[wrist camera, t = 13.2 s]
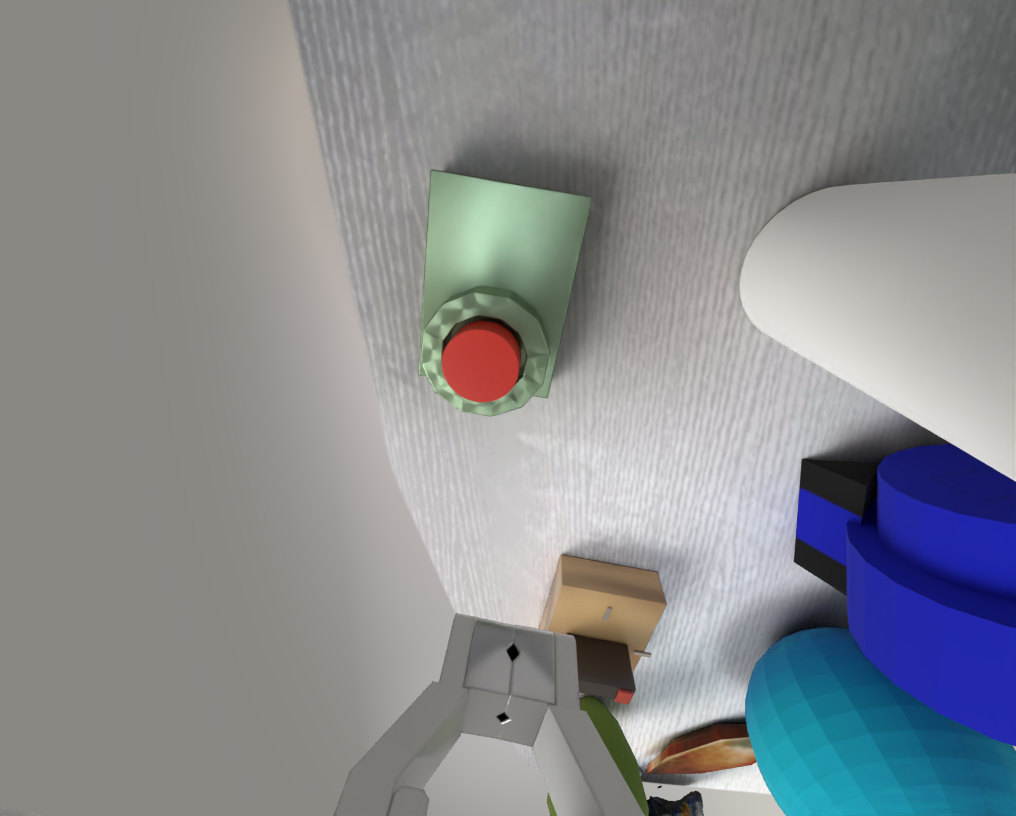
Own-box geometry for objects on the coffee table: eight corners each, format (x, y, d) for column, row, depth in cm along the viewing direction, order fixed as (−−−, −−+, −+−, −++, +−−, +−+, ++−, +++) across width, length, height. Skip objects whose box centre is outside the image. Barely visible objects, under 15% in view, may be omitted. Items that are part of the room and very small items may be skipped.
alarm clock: (793, 567, 32) (972, 832, 18) (803, 432, 27) (1062, 662, 13) (978, 551, 29) (1337, 838, 16) (1028, 399, 24) (1613, 635, 11)
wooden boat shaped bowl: (649, 762, 46) (653, 782, 44) (628, 737, 44) (631, 757, 42) (782, 737, 42) (792, 758, 40) (765, 708, 40) (774, 729, 38)
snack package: (633, 847, 38) (730, 858, 41) (623, 757, 43) (711, 772, 46) (568, 842, 46) (654, 852, 49) (566, 767, 51) (644, 779, 53)
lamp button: (452, 314, 22) (444, 322, 20) (526, 327, 21) (525, 336, 20) (446, 383, 23) (438, 395, 22) (514, 395, 23) (512, 408, 22)
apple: (531, 695, 42) (525, 852, 32) (600, 669, 39) (618, 833, 29) (579, 735, 45) (588, 893, 34) (647, 714, 42) (679, 880, 32)
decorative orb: (946, 598, 32) (1238, 885, 18) (856, 706, 38) (1021, 974, 25) (750, 572, 32) (892, 832, 19) (695, 683, 39) (771, 933, 26)
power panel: (553, 553, 33) (554, 585, 30) (665, 573, 33) (675, 607, 30) (527, 644, 39) (526, 678, 36) (623, 661, 39) (629, 697, 36)
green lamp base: (441, 172, 22) (419, 165, 18) (588, 197, 22) (596, 196, 18) (426, 376, 27) (408, 401, 24) (544, 397, 27) (544, 426, 24)
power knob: (562, 644, 34) (563, 693, 30) (566, 632, 33) (568, 681, 29) (622, 656, 33) (630, 706, 30) (627, 644, 33) (636, 694, 29)
